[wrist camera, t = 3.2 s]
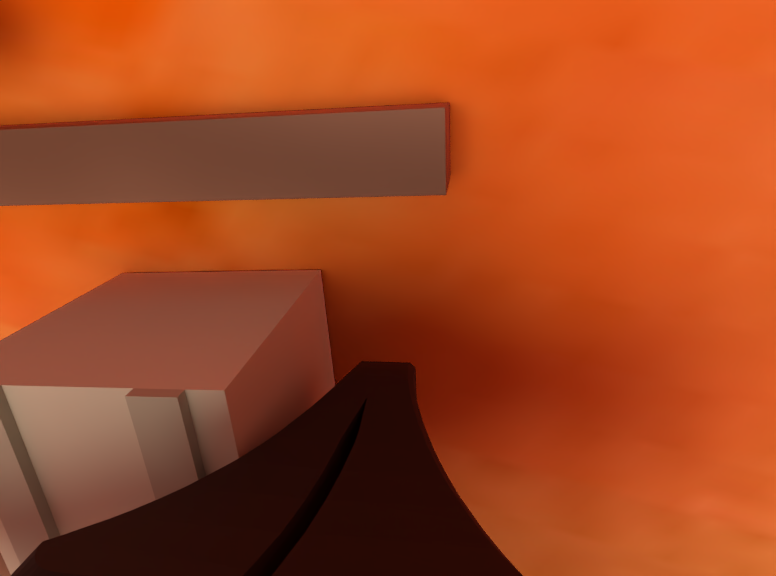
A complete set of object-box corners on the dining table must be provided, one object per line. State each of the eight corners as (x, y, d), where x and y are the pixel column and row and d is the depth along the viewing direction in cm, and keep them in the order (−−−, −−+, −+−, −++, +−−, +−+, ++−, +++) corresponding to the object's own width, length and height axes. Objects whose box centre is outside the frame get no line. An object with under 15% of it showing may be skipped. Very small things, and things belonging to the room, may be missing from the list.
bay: (454, 559, 14) (449, 721, 11) (-76, 514, 17) (-224, 632, 14) (449, 102, 10) (438, 115, 6) (-260, 139, 13) (-552, 163, 9)
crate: (343, 449, 14) (273, 648, 9) (168, 441, 14) (18, 620, 10) (320, 269, 12) (217, 398, 7) (122, 272, 13) (-90, 390, 8)
